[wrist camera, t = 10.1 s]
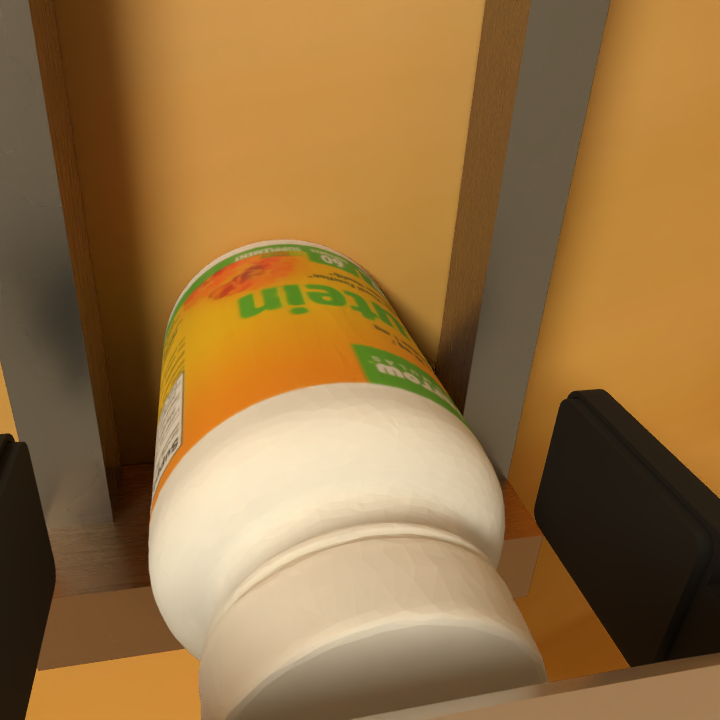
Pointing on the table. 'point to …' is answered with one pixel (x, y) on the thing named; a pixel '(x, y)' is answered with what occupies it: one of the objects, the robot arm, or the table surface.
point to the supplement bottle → (322, 502)
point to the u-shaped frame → (84, 335)
